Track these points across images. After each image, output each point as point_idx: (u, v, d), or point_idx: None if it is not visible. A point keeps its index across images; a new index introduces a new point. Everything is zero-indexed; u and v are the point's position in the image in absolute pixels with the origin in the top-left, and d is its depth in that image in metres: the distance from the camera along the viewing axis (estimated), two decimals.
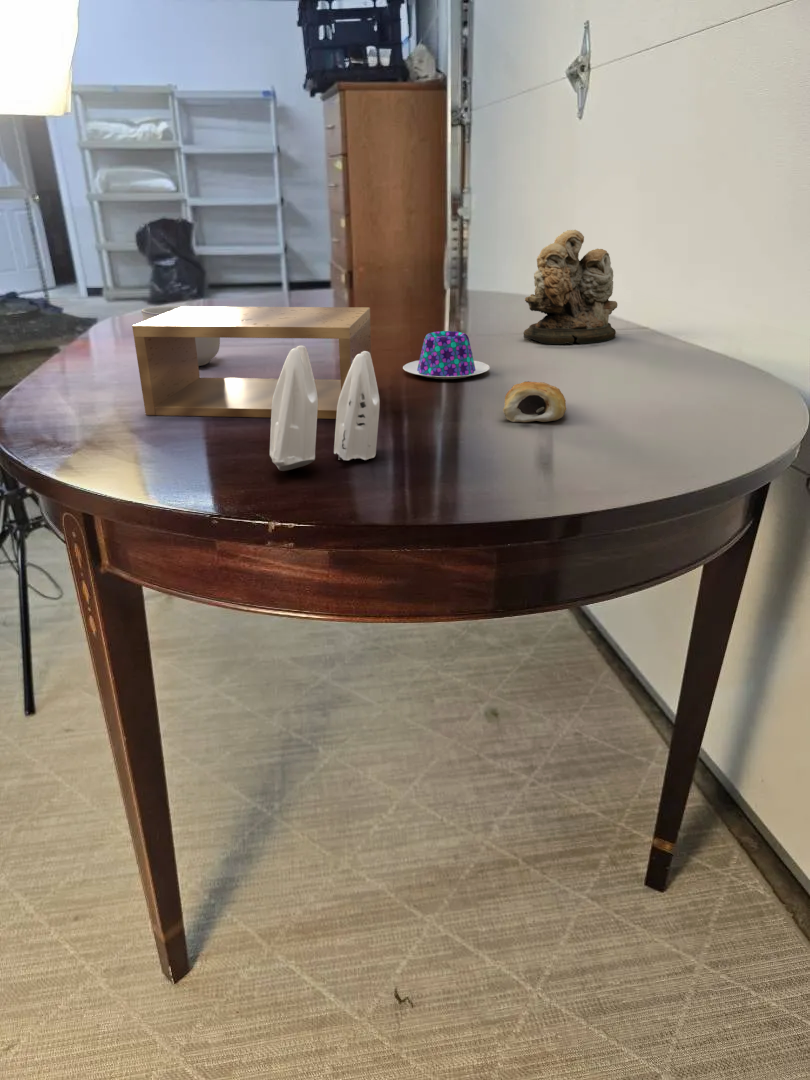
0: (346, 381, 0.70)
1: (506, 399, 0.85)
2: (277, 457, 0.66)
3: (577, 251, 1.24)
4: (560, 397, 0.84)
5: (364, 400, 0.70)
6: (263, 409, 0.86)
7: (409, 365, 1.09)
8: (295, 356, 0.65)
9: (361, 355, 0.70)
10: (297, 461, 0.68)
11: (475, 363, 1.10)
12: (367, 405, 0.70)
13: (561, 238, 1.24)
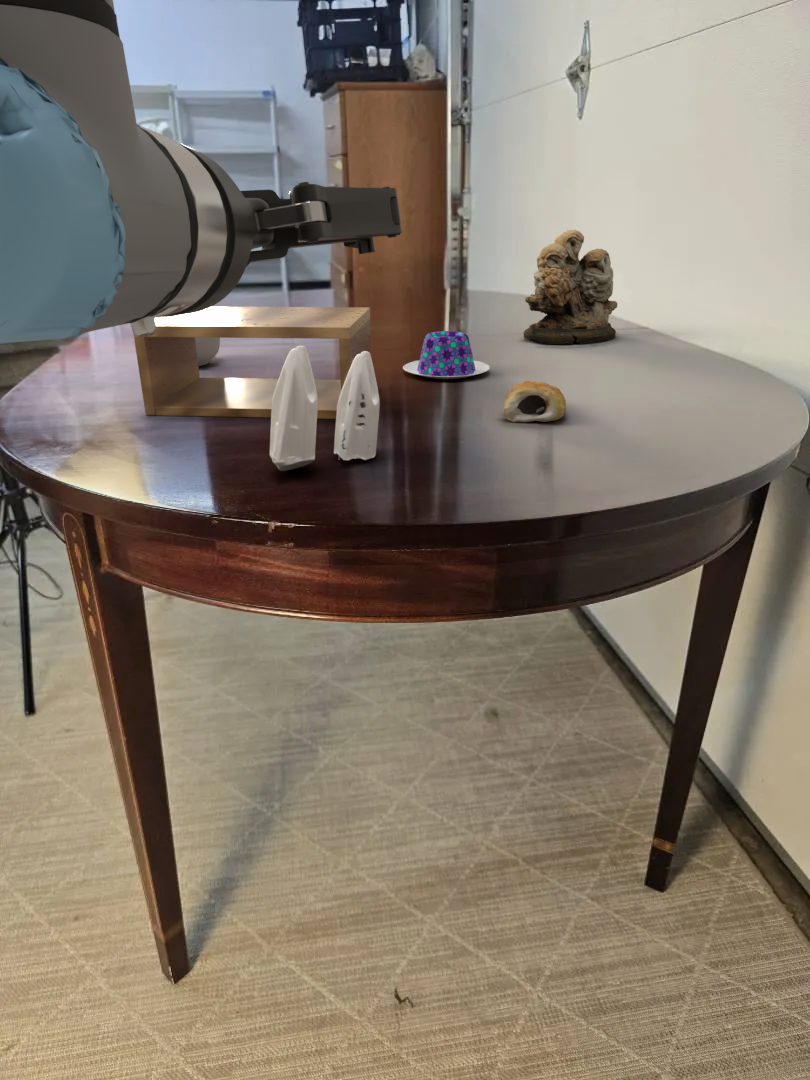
0: (346, 381, 0.70)
1: (506, 399, 0.85)
2: (277, 457, 0.66)
3: (577, 251, 1.24)
4: (560, 397, 0.84)
5: (364, 400, 0.70)
6: (263, 409, 0.86)
7: (409, 365, 1.09)
8: (295, 356, 0.65)
9: (361, 355, 0.70)
10: (297, 461, 0.68)
11: (475, 363, 1.10)
12: (367, 405, 0.70)
13: (561, 238, 1.24)
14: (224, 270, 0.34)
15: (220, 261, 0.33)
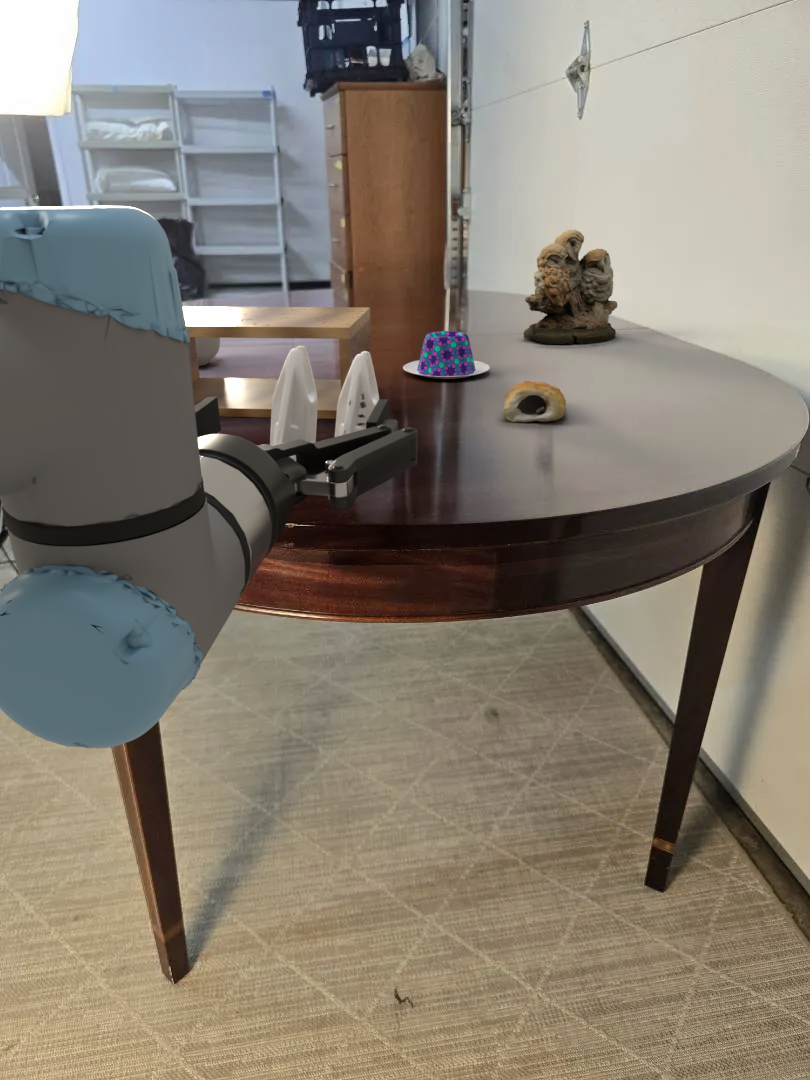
0: (346, 381, 0.70)
1: (506, 399, 0.85)
2: None
3: (577, 251, 1.24)
4: (560, 397, 0.84)
5: (364, 400, 0.70)
6: (263, 409, 0.86)
7: (409, 365, 1.09)
8: (295, 356, 0.65)
9: (361, 355, 0.70)
10: None
11: (475, 363, 1.10)
12: (367, 405, 0.70)
13: (561, 238, 1.24)
14: (265, 553, 0.43)
15: None
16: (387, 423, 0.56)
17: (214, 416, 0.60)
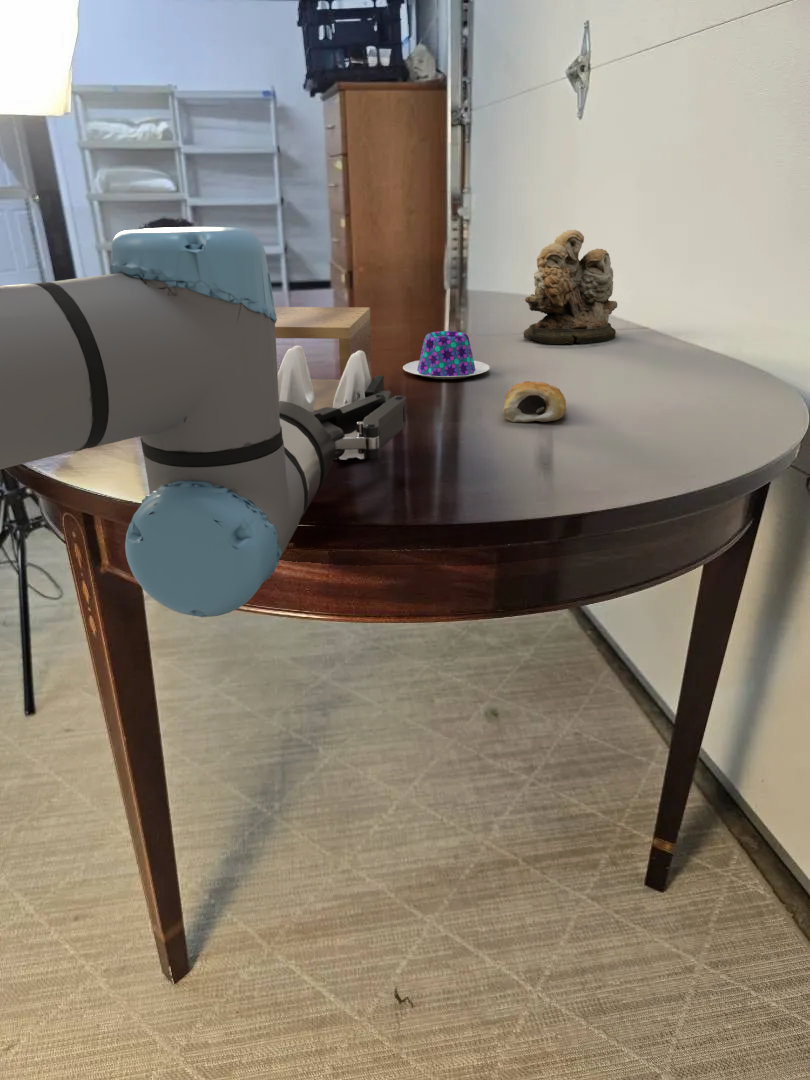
0: (342, 380, 0.70)
1: (506, 399, 0.85)
2: None
3: (577, 251, 1.24)
4: (560, 397, 0.84)
5: (360, 399, 0.70)
6: None
7: (409, 365, 1.09)
8: (292, 356, 0.65)
9: (356, 354, 0.70)
10: None
11: (475, 363, 1.10)
12: None
13: (561, 238, 1.24)
14: None
15: None
16: (382, 393, 0.69)
17: None
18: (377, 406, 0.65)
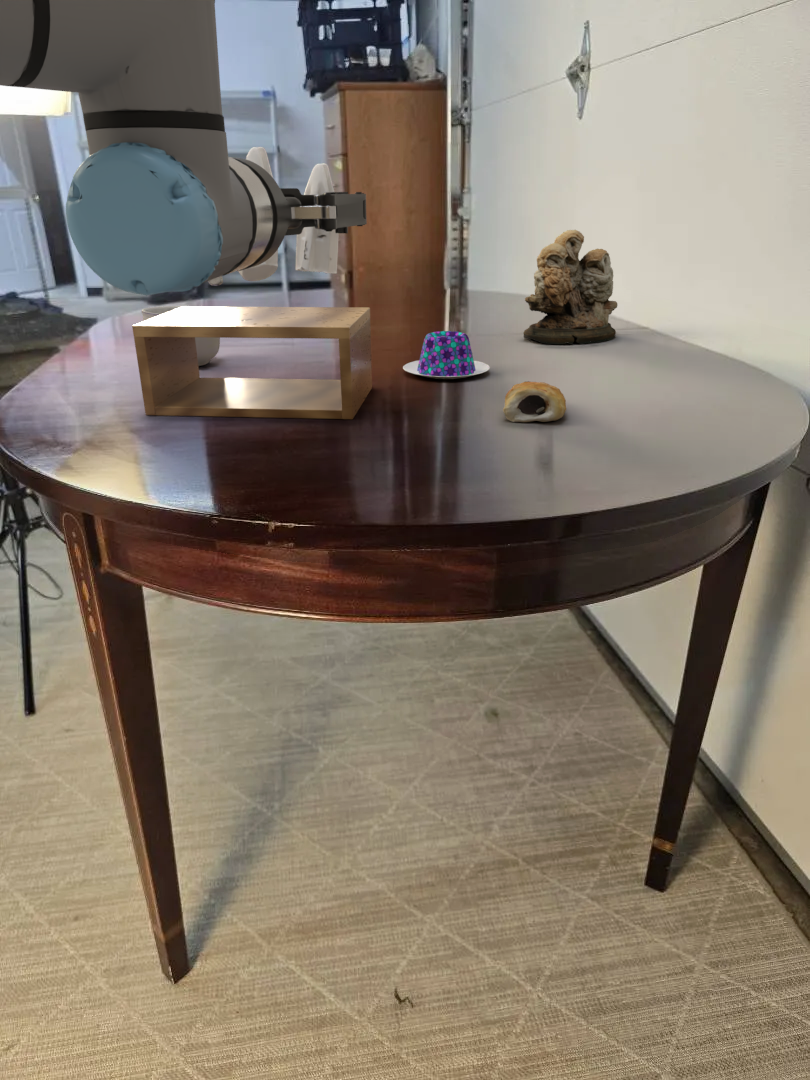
0: (306, 191, 0.71)
1: (506, 399, 0.85)
2: None
3: (577, 251, 1.24)
4: (560, 397, 0.84)
5: None
6: (263, 409, 0.86)
7: (409, 365, 1.09)
8: (255, 154, 0.66)
9: (320, 164, 0.71)
10: (261, 264, 0.68)
11: (475, 363, 1.10)
12: None
13: (561, 238, 1.24)
14: (267, 248, 0.55)
15: (266, 244, 0.53)
16: None
17: None
18: None
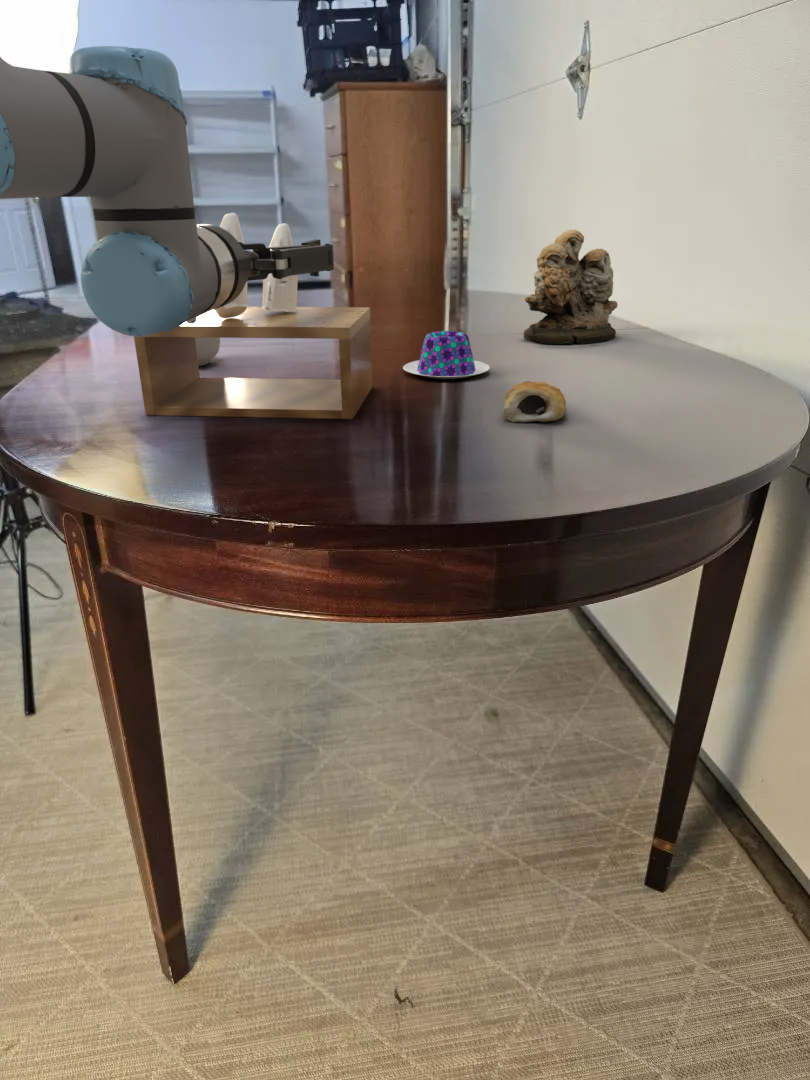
0: (270, 246, 0.88)
1: (506, 399, 0.85)
2: None
3: (577, 251, 1.24)
4: (560, 397, 0.84)
5: None
6: (263, 409, 0.86)
7: (409, 365, 1.09)
8: (228, 219, 0.83)
9: (281, 225, 0.88)
10: (233, 306, 0.85)
11: (475, 363, 1.10)
12: None
13: (561, 238, 1.24)
14: (231, 293, 0.72)
15: (229, 292, 0.70)
16: None
17: None
18: None
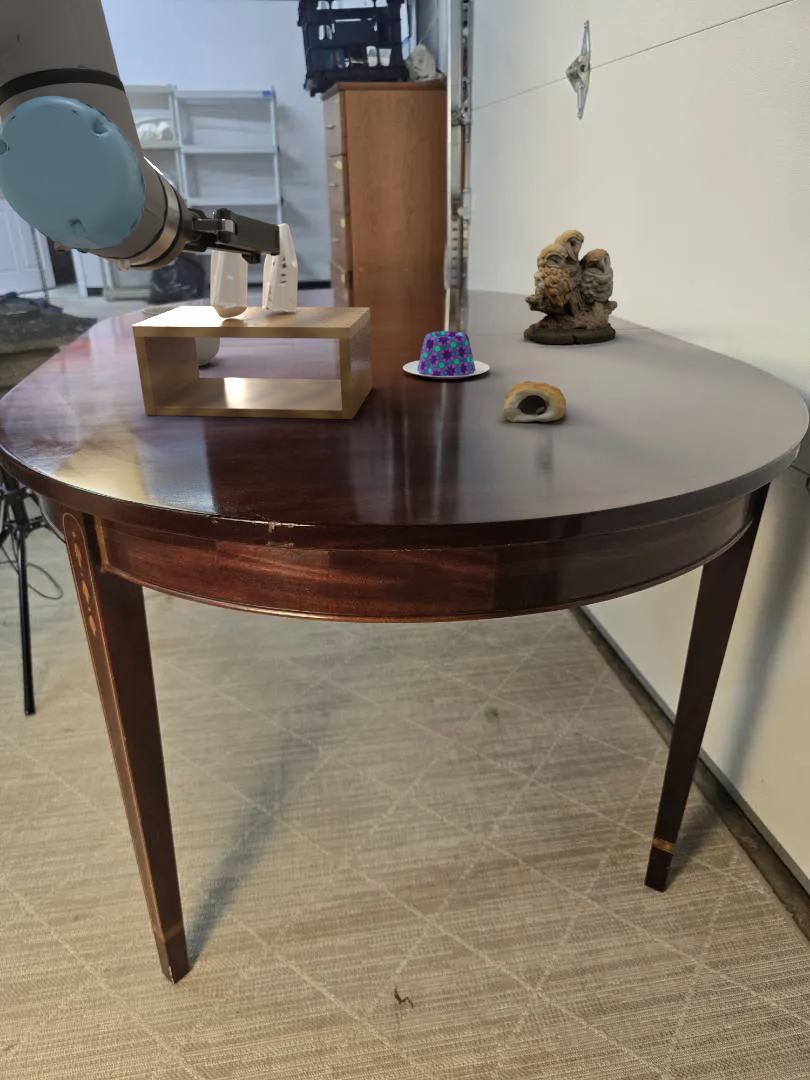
0: None
1: (506, 399, 0.85)
2: (217, 301, 0.84)
3: (577, 251, 1.24)
4: (560, 397, 0.84)
5: (285, 261, 0.88)
6: (263, 409, 0.86)
7: (409, 365, 1.09)
8: None
9: (281, 225, 0.88)
10: (233, 306, 0.85)
11: (475, 363, 1.10)
12: (287, 265, 0.88)
13: (561, 238, 1.24)
14: (172, 246, 0.59)
15: (172, 238, 0.57)
16: None
17: None
18: None
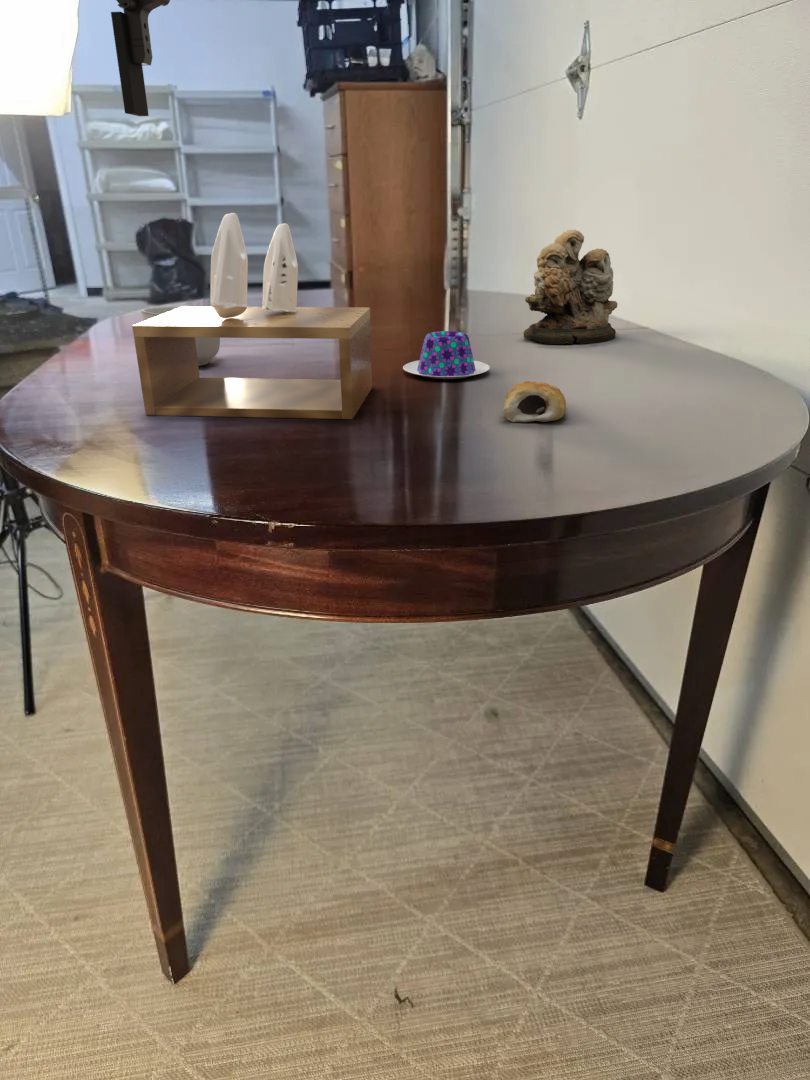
0: (270, 246, 0.88)
1: (506, 399, 0.85)
2: (217, 301, 0.84)
3: (577, 251, 1.24)
4: (560, 397, 0.84)
5: (285, 261, 0.88)
6: (263, 409, 0.86)
7: (409, 365, 1.09)
8: (228, 219, 0.83)
9: (281, 225, 0.88)
10: (233, 306, 0.85)
11: (475, 363, 1.10)
12: (287, 265, 0.88)
13: (561, 238, 1.24)
14: None
15: None
16: None
17: None
18: None
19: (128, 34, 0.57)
